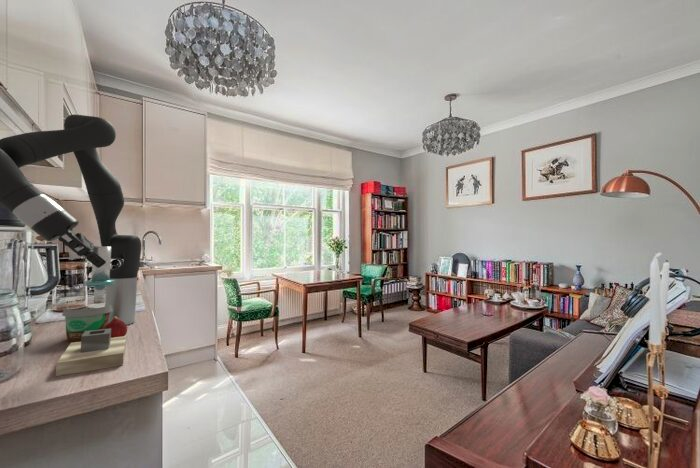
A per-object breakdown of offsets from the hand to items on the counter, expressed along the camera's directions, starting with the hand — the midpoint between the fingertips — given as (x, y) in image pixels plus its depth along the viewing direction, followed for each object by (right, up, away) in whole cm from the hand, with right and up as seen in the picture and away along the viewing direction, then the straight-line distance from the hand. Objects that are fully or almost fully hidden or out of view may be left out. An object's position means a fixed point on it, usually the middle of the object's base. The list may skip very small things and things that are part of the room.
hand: (104, 264), depth 78 cm
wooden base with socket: (-1, -25, -1) cm, 25 cm away
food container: (-17, -25, +13) cm, 33 cm away
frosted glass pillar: (-1, -10, -1) cm, 10 cm away
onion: (-6, -25, +11) cm, 28 cm away
